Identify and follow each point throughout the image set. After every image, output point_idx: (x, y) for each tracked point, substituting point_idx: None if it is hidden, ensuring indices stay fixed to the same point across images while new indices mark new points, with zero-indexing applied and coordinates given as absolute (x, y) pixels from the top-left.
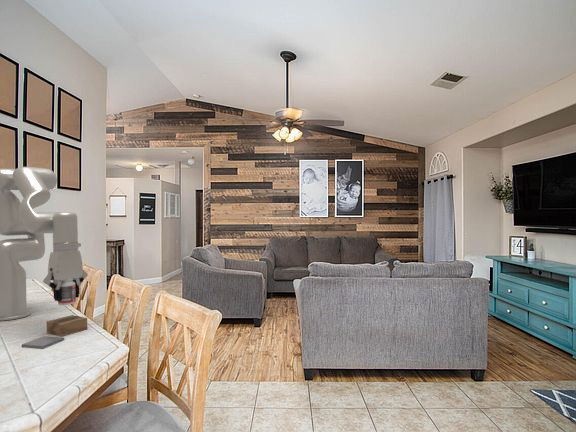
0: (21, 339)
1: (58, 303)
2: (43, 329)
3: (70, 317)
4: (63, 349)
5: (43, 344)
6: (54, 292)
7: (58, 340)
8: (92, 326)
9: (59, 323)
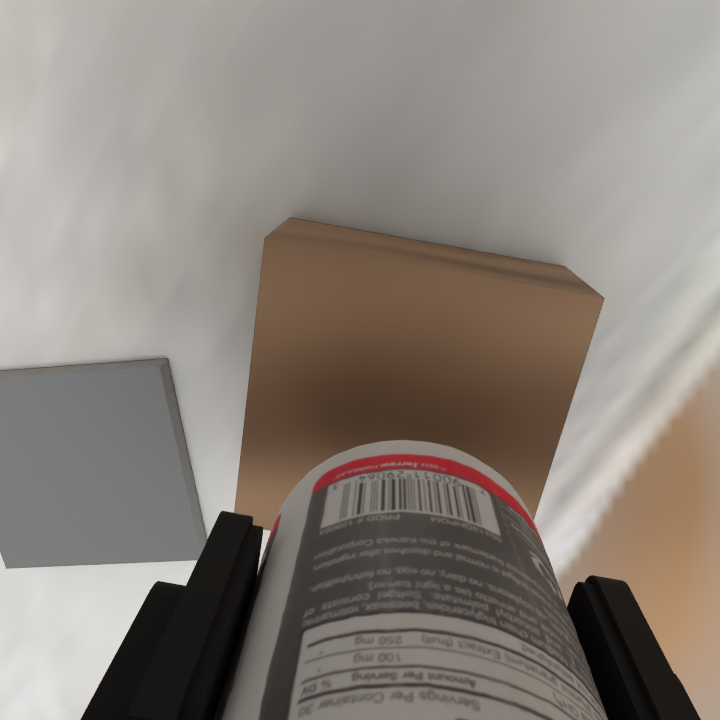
0: (55, 159)
1: (275, 520)
2: (372, 41)
3: (492, 379)
4: (82, 680)
5: (30, 544)
6: (103, 713)
7: (149, 558)
8: (585, 479)
9: (259, 466)
